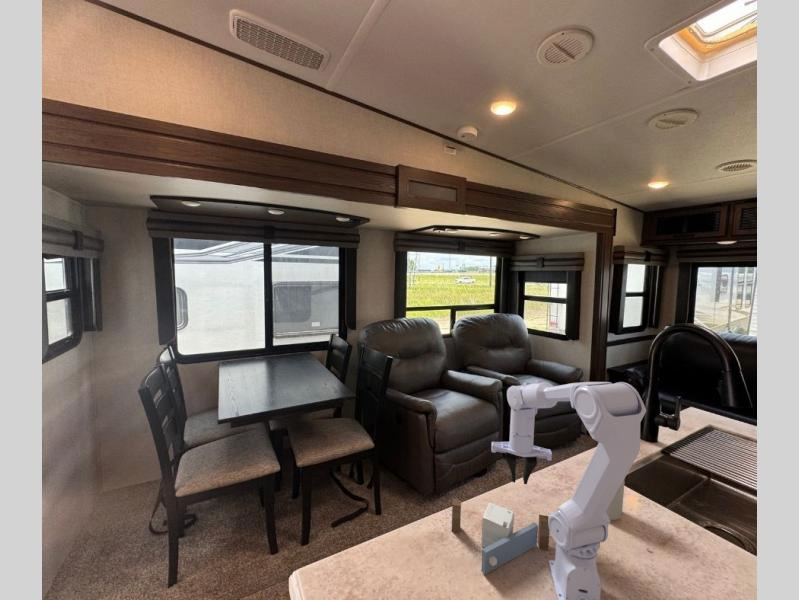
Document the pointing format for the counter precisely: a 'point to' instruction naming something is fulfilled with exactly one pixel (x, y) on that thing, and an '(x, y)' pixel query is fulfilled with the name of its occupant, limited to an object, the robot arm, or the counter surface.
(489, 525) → the skincare box
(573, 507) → the robot arm
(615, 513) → the can
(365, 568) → the counter surface
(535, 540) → the door leaf
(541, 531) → the door frame
